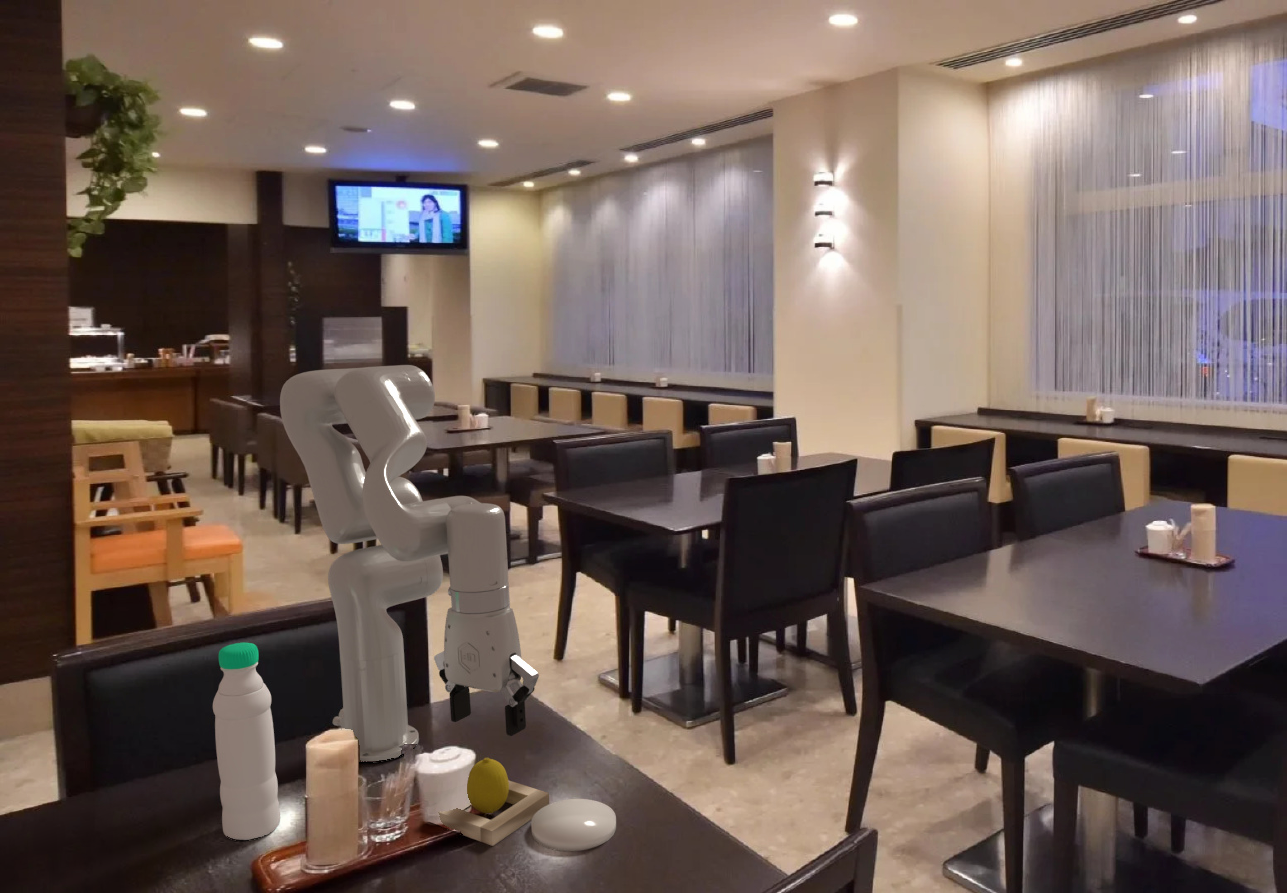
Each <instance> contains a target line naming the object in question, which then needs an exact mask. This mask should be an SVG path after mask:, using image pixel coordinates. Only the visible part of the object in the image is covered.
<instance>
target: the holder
mask: <svg viewBox="0 0 1287 893" xmlns="http://www.w3.org/2000/svg"><path fill="white" fill-rule="evenodd" d="M508 782H509V792H508V796H507V799H506V801H505V803H508V804H512V806H510V807H509V808H507V809H505V810H504V811H503V812H501V813H499V814H498V815H496V816H494V817H492V818H491V819H489V818H486V817H483V816H480V815H477V814H475V813H472V812H469V811H466V810H461V809H458V808H456V809H453V810H449V811H443V812H441V811H440V812H438V813H439V815H440V816H439V817H440V820H441V822H442V823H443V824H444V825H445V826H447V827H449V828H451V829H455V830H460V831H461V833H462V834H463V835H462V836H465V837H467V838H469V839H472V840H476V841H478V842H481V843H484V844H486V845H489V846H492V847H493V846H495V845H497V844H498V843H499V842H501V841H502V840H504V839H505V838H507V837H508V836H509V835H511V834H512V833H514V832H515V831H517V830H518V829H520V828H521V827H523V826H524V825H525V824H527V823H528V822H531V821H532V818H533V816H534V815H535V813H536V812H537V811H539V810H540V809H541V808H543V807H545V806H547V805H549V804H550V793H549V792H546V791H543V790H541V789H537V788H534V787H530V786H528V785H525V784H522V783H518V782H515V781H512V780H509V779H508Z"/></svg>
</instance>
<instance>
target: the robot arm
mask: <svg viewBox="0 0 1287 893" xmlns="http://www.w3.org/2000/svg"><path fill="white" fill-rule="evenodd" d="M279 395H280V397H279V406H280V407H279V409H280V416H281V422H282V425H283V427H284V430H285V432H286V435H287V436H288V439H289V441H290V442H291V444H292V446H293V448H294V449H295V451H296V452H297V454H298V456H299V458H300V460H301V462H302V464H303V467H304V468H305V471H306V475H307V478H308V482H309V486H310V489H311V492H312V495H313V500H314V503H315V506H316V510H317V513H318V517H319V520H320V522H321V526H322V529H323V531H324V534H325V535H326V536H327V538H328V539H329V541H330V542H333V543H335V544H338V545H340V544H341V545H347V544H348V545H349V544H355V543H363V542H366V541H368V542H369V541H373V540H378V541H379V543H380V544H378V545H375V546H374V545H373V546H369V547H364V548H358V549H355V550H351V551H349V552H346V553H343V554H342V555H340V556H339V557H337V558H336V559H335V560H334V561H333V562H332V564H331V565H330V566H329V570H328V574H327V579H328V580H327V582H328V589H329V593H330V596H331V600H332V604H333V608H334V612H335V618H336V623H337V624H336V625H337V633H338V634H337V635H338V644H339V645H338V647H339V662H340V672H341V673H340V675H341V676H340V678H341V688H342V690H341V691H342V692H341V693H342V706H343V707H342V709H339V710H340V711H339V713H338V716H334V717H333V719H332V724H333V725H334V726H337V727H341V729H342V728H345V729H351V730H353V732H354V735H355V736H356V737H357V738H358V740H359V745H360V760H361V762H362V761H363V762H364V761H366V762H367V761H379V760H386V761H388V760H387V759H390V760H392V759H391V758H394V759H396V758H399V756H400V755H401V750H402V746H403V745H404V744H417V745H418V744H419V741H420V738H419V732H418V730H417V729H416V728H415V727H413V726H412V725H409V723H408V722H409V720H408V706H407V704H408V702H407V687H406V686H407V685H406V682H407V681H406V668H405V652H404V649H405V647H404V638H403V637H404V636H403V633H402V629H401V628H400V626H399V625H398V623H397V622H396V621H395V620H394V619H393V618H392V617H391V616H390V615H389V614H388V612H387V609H388V608H390V607H393V606H396V605H399V604H404V603H410V602H412V601H416V600H417V601H418V600H420V599H423V598H427V597H429V596H430V597H431V596H432V595H434V594H435V593H436V592H438V590H439V589H440V587H441V585H442V583H443V577H444V570H443V562H442V560H441V559H442V558H441V556H443V555H447V557H448V569H449V570H448V571H449V572H448V573H449V587H448V589H447V595H448V596H449V597H450V600H451V604H450V605H451V607H449V608H448V609H447V613H446V616H445V626H444V637H443V638H444V639H443V641H444V642H443V644H444V645H443V651H442V652H441V651H440V652H439V653H437V654H435V655H434V657H433V660H434V663H435V665H436V667H437V669H438V670H439V673H438V674H439V677H440V678H441V680H442V681H443V683H444V685H445V686H444V689H445V691H446V692H447V693H449V694H448V695H449V706H450V707H449V709H450V721H451V722H454V723H456V722H457V723H458V722H459V721H461V720H464V719H465V718H467V717H468V716H470V715H471V713H472V712H471V711H472V709H471V695H470V688H472V689H476V690H480V691H485V692H491V693H497V692H501V694H502V696H503V697H504V699H505V700H506V702H507V705H504V706H505V707H504V717H505V733H506V735H507V736H509V737H512V736H514V735H516V734H518V733H520V732H522V731H524V730H525V729H526V726H527V723H526V722H527V721H526V705H525V704H526V703H525V702H526V701H527V700H529V698H530V696H531V695H532V694H533V693H534V691H535V686H536V684H537V682H538V679H539V676H540V673H539V672H538V671H537V670H536V669H534V668H533V667H532V666H530V664H528V663H527V662H526V661H524V660H523V659H522V650H521V641H520V637H519V636H520V634H519V631H518V630H519V629H518V625H517V620H516V615H515V612H514V609H513V608H511V599H510V584H509V582H510V581H509V568H508V567H509V566H508V551H507V550H508V547H507V533H506V530H507V529H506V516H505V513H504V510H503V509H502V508H501V507H500V506H499V505H497V504H493V503H487V502H486V503H485V502H480V501H478V500H477V499H475V498H473V497H471V496H466V495H455V496H448V497H443V498H435V499H429V500H423V499H422V495H421V494H420V491H419V489H418V488H417V487H416V486H415V484H413V483H412V481H410V480H409V479H407V478H405V477H402V476H401V475H403V474H405V473H407V472H408V471H409V470H411V469H412V468H413V467H414V466H416V464H418V463H419V461H420V460H421V459H422V458H423V457H424V455H425V453H426V450H427V448H428V447H427V446H428V440H427V436H426V435H425V433H424V430H423V429H422V428H421V427H420V425H419V423H418V422H417V420H421V419H423V418H426V417H427V416H429V415H430V413H431V412H432V411H433V408H434V406H435V400H436V394H435V388H434V385H433V383H432V381H431V379H430V378H429V376H428V374H426V372H425V371H424V370H422V368H419V367H418V366H415V365H412V364H400V365H399V364H398V365H381V366H380V365H379V366H368V367H367V366H365V367H357V368H356V367H353V368H352V367H351V368H333V369H331V368H330V369H318V370H317V369H316V370H310V371H304V372H301V373H297V374H295V375H293V376H292V377H289V379H288V380H286V381H285V383H284V384H283V385H282V388H281V392H280V394H279ZM342 423H343V424H345V423H347V424H348V426H349V428H350V430H351V432H352V433H353V436H354V437H355V439H356V441H357V442H358V443H359V445H360V447H361V449H362V451H363V453H364V454H365V456H366V457H367V459H368V460H369V465H368V468H367V469H366V470H365V468H364V464H363V460H362V456H361V454H360V452H359V450H358V449H357V447H356V446H355V444H354V443H352V441H350V440H349V439H348V438H347V437H346V436H345V435H343V433H341V432H339V431H338V430H337V429H335V428H334V427H333V425H334V424H342ZM521 679H522V682H521ZM511 687H512V688H513V690H514V691H515V693H514V692H513V691H512V689H511ZM400 757H401V756H400Z"/></svg>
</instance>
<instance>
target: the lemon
mask: <svg viewBox="0 0 1287 893" xmlns="http://www.w3.org/2000/svg"><path fill="white" fill-rule="evenodd" d="M468 776H469V777H467V783H466V784H467V794H468V798H469V800H470V803H471V804H472V805H471V807H473V808H474V809H475V810H477V811H478V812H480V813H483V814H486V813H492V814H493V813H494V812H497V811H499V809H501V808H502V807H503V806H504V805H505V803H506V802H505V801H506V799H507V796H508V792H509V782H508V780H509V778H508V774H507V771H506V769H505V767H504V766H503V765H502V763H500V762H499V761H497V760H495V759H493V758H489V757H484V758H483V759H480V760H479V761H478V762H476V763H475V764H474V765H473V766H472V768H471V769H470V770H469V773H468Z"/></svg>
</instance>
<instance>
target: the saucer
mask: <svg viewBox="0 0 1287 893" xmlns="http://www.w3.org/2000/svg"><path fill="white" fill-rule="evenodd" d="M530 822H531V823H530V824H531V836H532V838H533V839H534V841H535V842H537V843H538V844H539V845H540V846H542V847H545V848H547V849H551V850H553V849H555V850H554V851H559V852H579V851H586V850H589V849H590V850H591V849H593V848H597V847H598V846H601V845H603V844H605V843H607V842H608V841H609V840H610V839H612V837H613V836H614V835H615V833H616V830H617V816H616V813H615V811H614V810H613V809H612V808H611V807H610V806H609V805H607V804H605V803H604V802H601V801H596V800H593V799H586V798H571V799H563V800H559V801H558V800H557V801H555V802H552V803H549V805H547V806H545V807H543V808H541V809H540V810H539V811H537V812H536V813H535V815H534V816H533V818H532V819H531V820H530Z"/></svg>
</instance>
